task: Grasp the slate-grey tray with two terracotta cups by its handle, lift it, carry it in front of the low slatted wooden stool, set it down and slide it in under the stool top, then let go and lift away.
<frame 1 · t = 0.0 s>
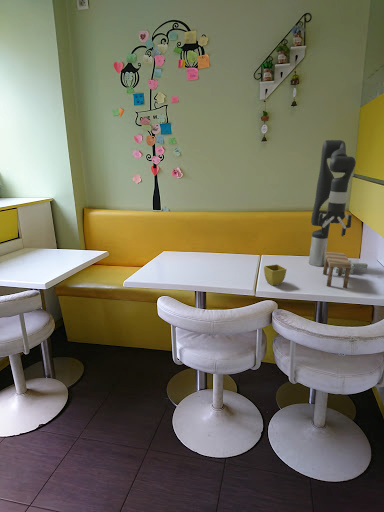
hand: (332, 235, 163), 29 cm above the table, fingers open, 8 cm apart
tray: (342, 270, 202), on the table
slatted wooden stool: (334, 280, 187), on the table
flower pot: (273, 283, 182), on the table
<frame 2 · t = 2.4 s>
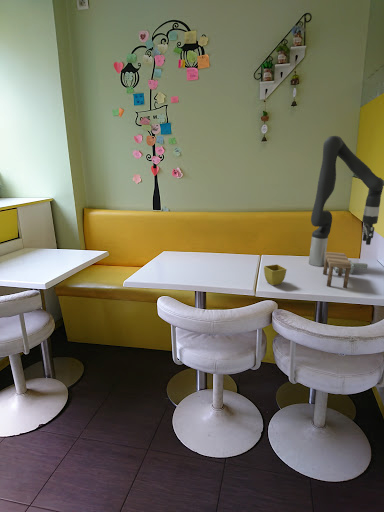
hand: (366, 242, 194), 18 cm above the table, fingers open, 8 cm apart
nothing on the table moved.
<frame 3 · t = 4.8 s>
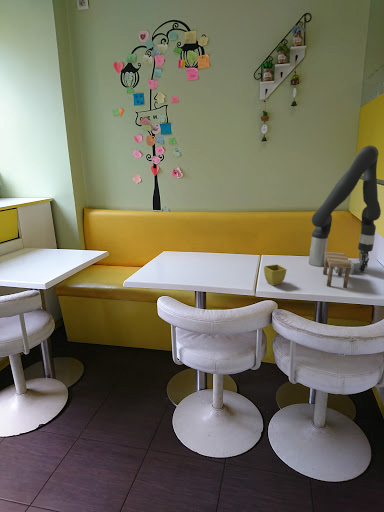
hand: (361, 270, 199), 1 cm above the table, fingers closed on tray, 2 cm apart
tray: (342, 270, 202), on the table, touching gripper
everything else where it was.
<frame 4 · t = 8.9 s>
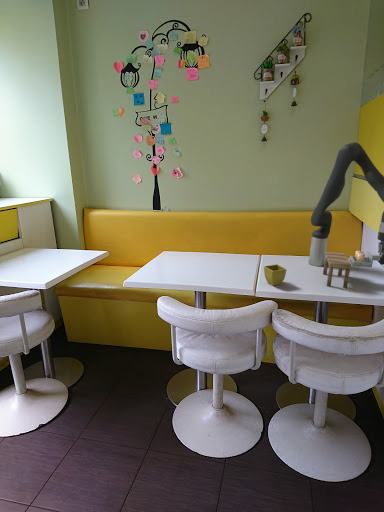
hand: (381, 263, 178), 12 cm above the table, fingers closed on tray, 2 cm apart
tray: (360, 263, 181), point 11 cm above the table, touching gripper
everything else where it was.
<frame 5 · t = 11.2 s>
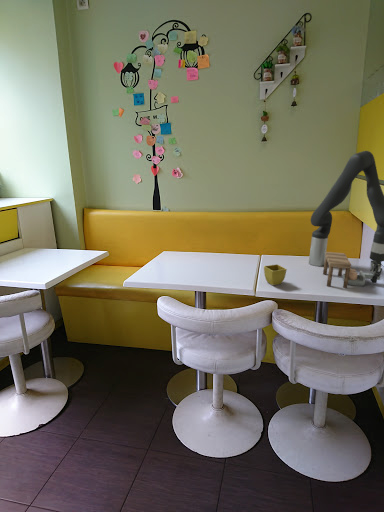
hand: (373, 281, 182), 1 cm above the table, fingers closed on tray, 2 cm apart
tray: (352, 281, 185), on the table, touching gripper
everything else where it was.
when the fingers open (1 cm above the table, at t = 13.3 s): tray stays where it is, on the table.
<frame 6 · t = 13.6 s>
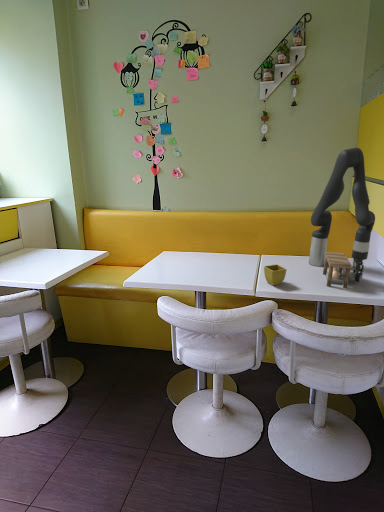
hand: (355, 279, 184), 2 cm above the table, fingers open, 5 cm apart
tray: (335, 280, 187), on the table
everything else where it was.
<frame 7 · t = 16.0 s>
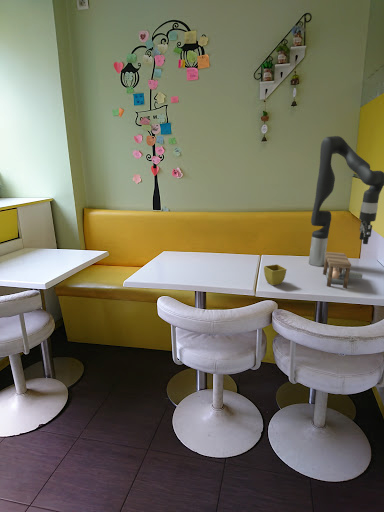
hand: (363, 241, 179), 22 cm above the table, fingers open, 8 cm apart
nothing on the table moved.
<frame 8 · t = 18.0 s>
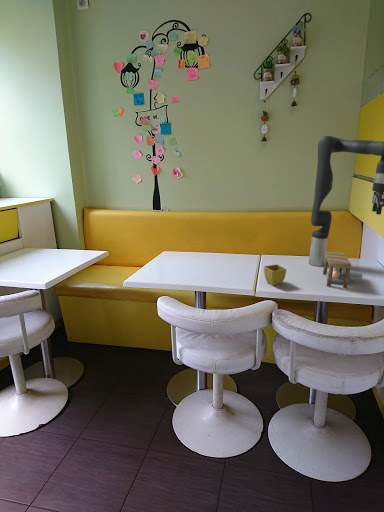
hand: (376, 212, 183), 36 cm above the table, fingers open, 8 cm apart
nothing on the table moved.
at the end: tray inside the target area (2.0 cm from its centre), on the table; the gripper is holding nothing; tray tilted 0° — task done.
